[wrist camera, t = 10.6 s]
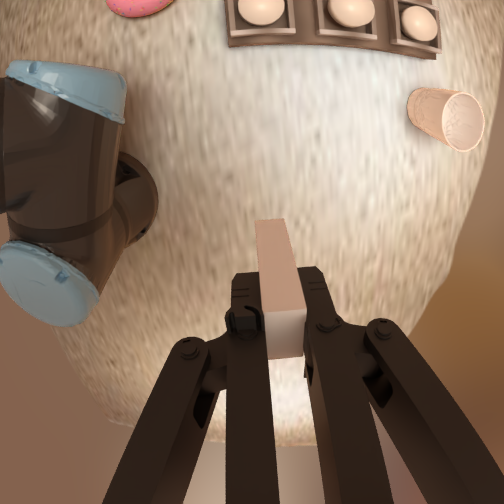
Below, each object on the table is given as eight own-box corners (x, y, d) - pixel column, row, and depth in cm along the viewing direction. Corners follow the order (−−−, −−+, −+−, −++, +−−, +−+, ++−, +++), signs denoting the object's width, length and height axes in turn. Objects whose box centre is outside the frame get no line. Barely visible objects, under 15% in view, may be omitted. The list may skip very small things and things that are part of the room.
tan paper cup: (399, 86, 33) (438, 93, 25) (440, 82, 32) (482, 91, 24) (407, 136, 37) (444, 156, 29) (445, 130, 36) (485, 148, 28)
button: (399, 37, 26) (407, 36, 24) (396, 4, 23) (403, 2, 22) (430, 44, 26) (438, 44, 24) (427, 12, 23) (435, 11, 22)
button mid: (329, 25, 25) (334, 23, 23) (325, -11, 22) (330, -15, 21) (369, 30, 25) (376, 28, 23) (366, -6, 22) (372, -9, 21)
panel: (229, 47, 31) (227, 43, 27) (222, -29, 24) (220, -42, 20) (424, 59, 30) (444, 60, 26) (418, -10, 24) (436, -15, 19)
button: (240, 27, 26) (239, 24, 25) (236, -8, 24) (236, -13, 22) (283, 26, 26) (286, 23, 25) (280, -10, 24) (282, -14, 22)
